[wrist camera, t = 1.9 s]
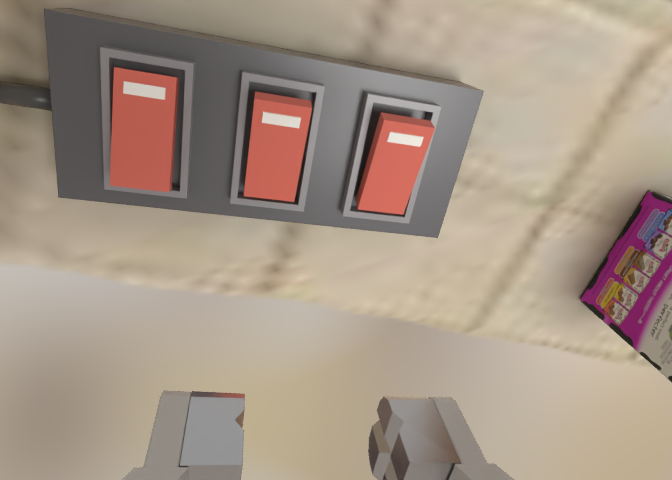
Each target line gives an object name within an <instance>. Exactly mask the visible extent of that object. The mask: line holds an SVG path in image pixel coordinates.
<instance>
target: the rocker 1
mask: <svg viewBox="0 0 672 480" xmlns="http://www.w3.org/2000/svg"><path fill="white" fill-rule="evenodd" d="M178 90H179V78H177V77H171V76H165V75H159V74H153V73H147V72H141V71H135V70H129V69H123V68H117V67H114V79H113V108H112V136H111V164H110V186H118V187H127V188H136V189H145V190H153V191H162V192H170V191H171V190H172V179H173V165H174V150H175V135H176V120H177V105H178Z"/></svg>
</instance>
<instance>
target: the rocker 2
mask: <svg viewBox="0 0 672 480" xmlns="http://www.w3.org/2000/svg"><path fill="white" fill-rule="evenodd" d="M311 112H312V104H311V101H310V100H304V99H298V98H292V97H286V96H280V95H274V94H268V93H262V92H256V91H255V97H254V106H253V115H252V124H251V133H250V141H249V150H248V159H247V168H246V177H245V186H244V196H247V197H256V198H264V199H273V200H282V201H290V202H294V200H295V195H296V190H297V185H298V179H299V174H300V169H301V164H302V159H303V153H304V148H305V143H306V138H307V133H308V127H309V122H310V117H311Z"/></svg>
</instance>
